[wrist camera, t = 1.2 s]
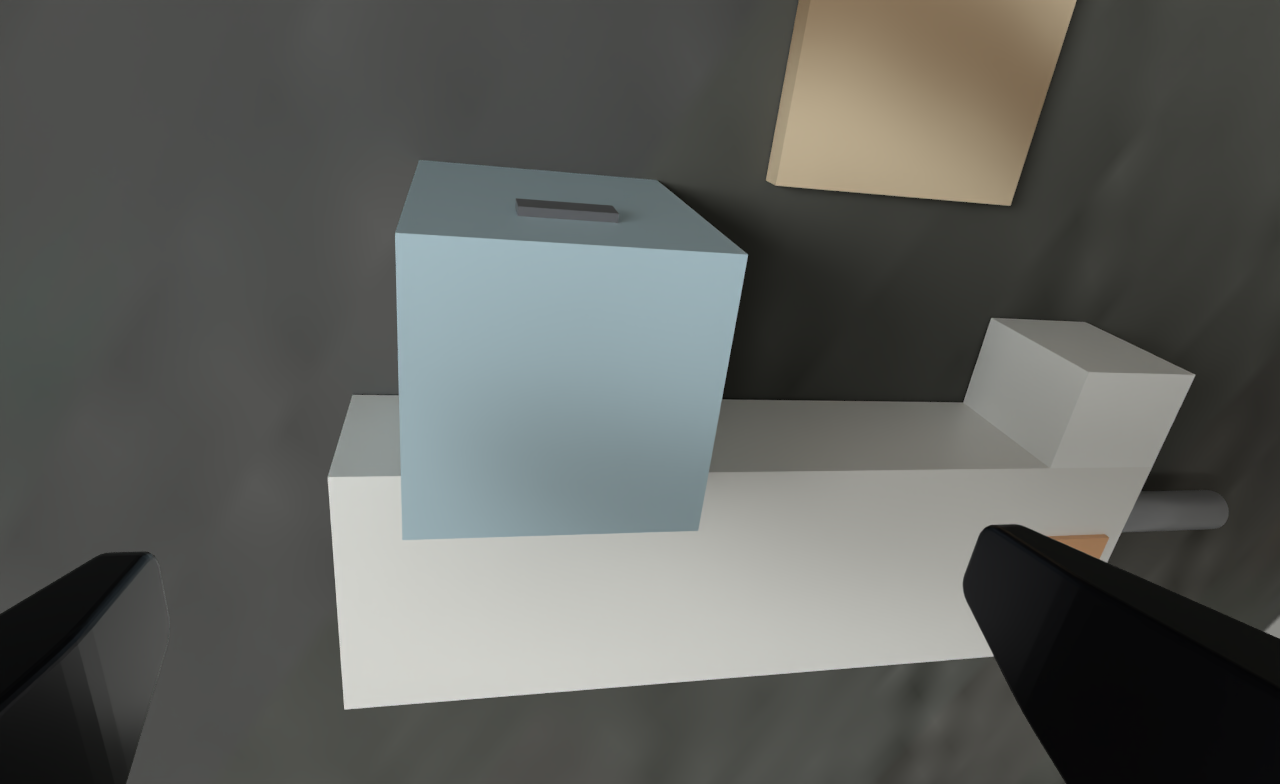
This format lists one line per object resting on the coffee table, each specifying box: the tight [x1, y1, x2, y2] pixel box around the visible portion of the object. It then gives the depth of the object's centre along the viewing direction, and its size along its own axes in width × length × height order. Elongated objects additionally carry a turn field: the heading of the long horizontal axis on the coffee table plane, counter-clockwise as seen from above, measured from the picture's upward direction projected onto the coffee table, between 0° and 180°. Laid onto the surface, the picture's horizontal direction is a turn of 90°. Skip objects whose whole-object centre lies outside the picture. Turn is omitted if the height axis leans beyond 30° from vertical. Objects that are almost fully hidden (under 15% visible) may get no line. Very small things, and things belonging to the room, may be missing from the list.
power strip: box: [328, 318, 1229, 709], centre depth 19 cm, size 8×25×4 cm, turn 84°
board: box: [766, 0, 1077, 206], centre depth 16 cm, size 6×6×1 cm
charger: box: [395, 160, 748, 540], centre depth 15 cm, size 7×5×6 cm
